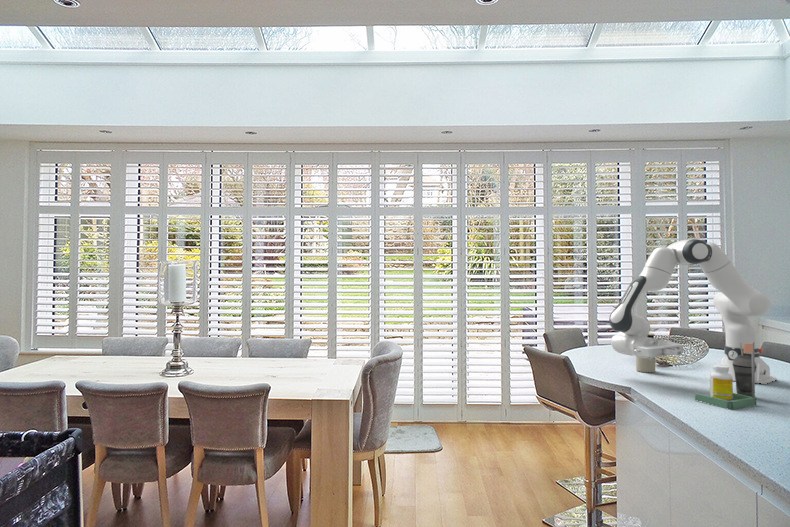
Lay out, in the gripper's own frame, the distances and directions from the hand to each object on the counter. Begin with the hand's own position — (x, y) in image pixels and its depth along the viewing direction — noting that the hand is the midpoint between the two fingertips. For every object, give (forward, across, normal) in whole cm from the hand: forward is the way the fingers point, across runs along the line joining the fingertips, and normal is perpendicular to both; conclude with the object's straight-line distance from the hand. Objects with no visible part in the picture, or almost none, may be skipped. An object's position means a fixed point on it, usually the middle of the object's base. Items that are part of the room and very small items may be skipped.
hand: (679, 352), depth 181 cm
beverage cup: (+14, +15, +16) cm, 26 cm away
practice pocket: (+16, -1, +15) cm, 22 cm away
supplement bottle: (+16, -1, +15) cm, 22 cm away
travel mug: (-32, +21, +15) cm, 41 cm away
